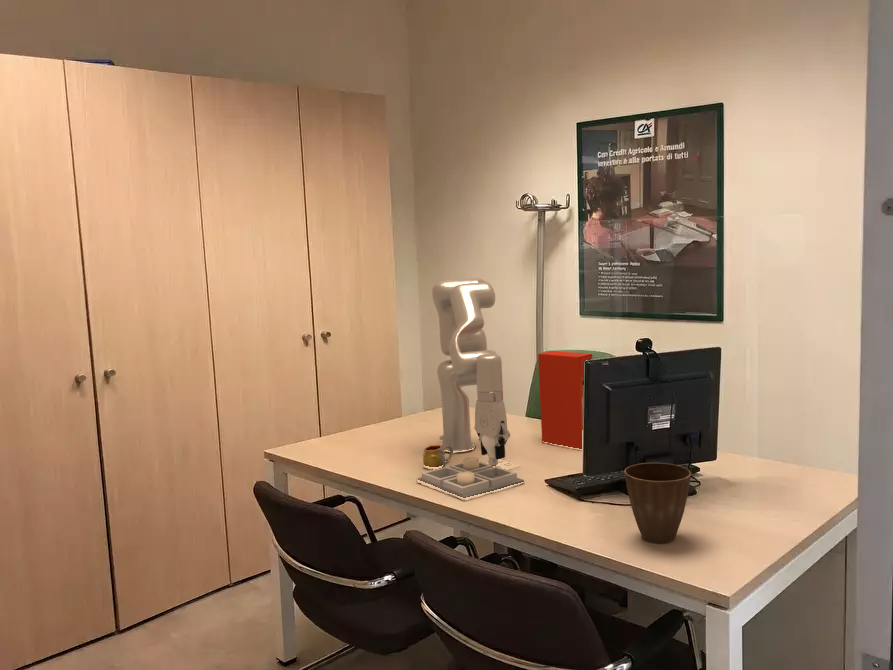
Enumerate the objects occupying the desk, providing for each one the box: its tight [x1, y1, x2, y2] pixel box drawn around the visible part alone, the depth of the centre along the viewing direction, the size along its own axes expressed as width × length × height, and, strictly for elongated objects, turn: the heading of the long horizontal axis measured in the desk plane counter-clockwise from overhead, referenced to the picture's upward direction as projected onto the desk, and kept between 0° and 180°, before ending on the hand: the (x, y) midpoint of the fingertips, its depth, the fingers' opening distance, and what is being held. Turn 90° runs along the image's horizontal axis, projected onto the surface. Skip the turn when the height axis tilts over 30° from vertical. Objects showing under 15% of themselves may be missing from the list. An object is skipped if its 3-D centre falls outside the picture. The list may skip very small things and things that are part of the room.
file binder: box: [537, 350, 593, 449], centre depth 266 cm, size 8×17×32 cm, turn 43°
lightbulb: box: [482, 433, 501, 466], centre depth 227 cm, size 6×6×11 cm
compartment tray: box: [417, 456, 525, 498], centre depth 230 cm, size 24×22×5 cm
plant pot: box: [624, 462, 692, 544], centre depth 180 cm, size 15×15×16 cm
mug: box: [422, 444, 454, 467], centre depth 250 cm, size 12×7×7 cm, turn 131°
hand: (493, 455), depth 227 cm, fingers closed on lightbulb, 6 cm apart
